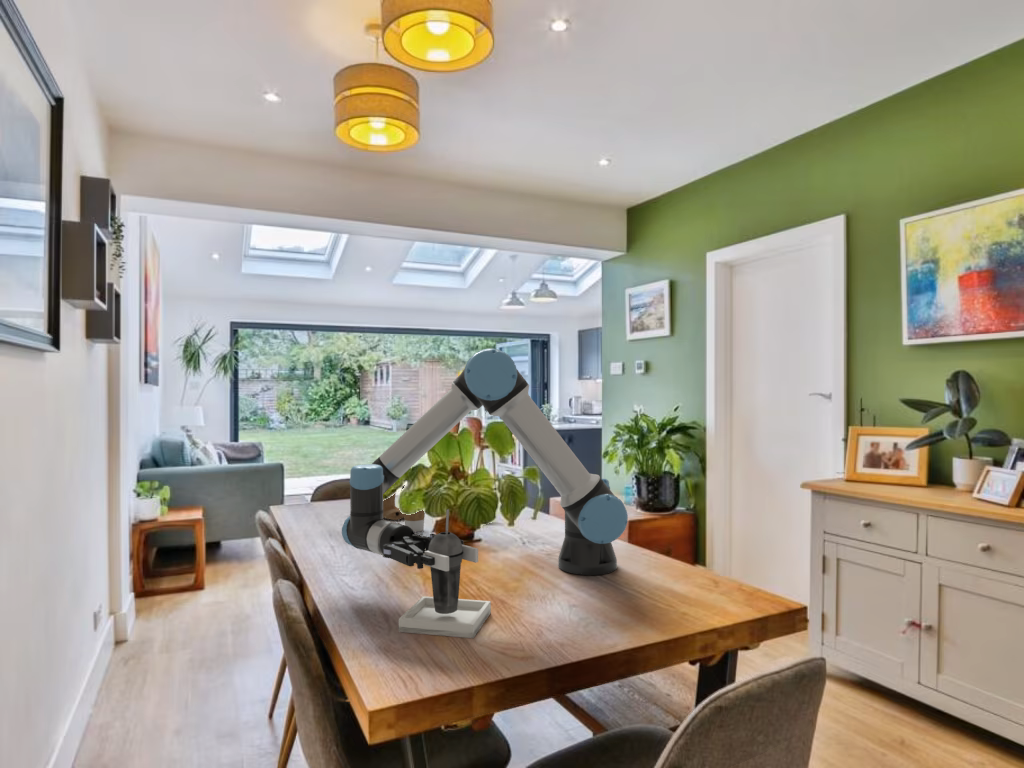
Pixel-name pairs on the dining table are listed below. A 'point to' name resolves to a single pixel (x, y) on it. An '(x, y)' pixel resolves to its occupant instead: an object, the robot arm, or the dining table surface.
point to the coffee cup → (415, 520)
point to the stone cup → (391, 509)
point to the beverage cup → (446, 581)
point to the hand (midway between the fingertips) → (462, 559)
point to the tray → (445, 618)
